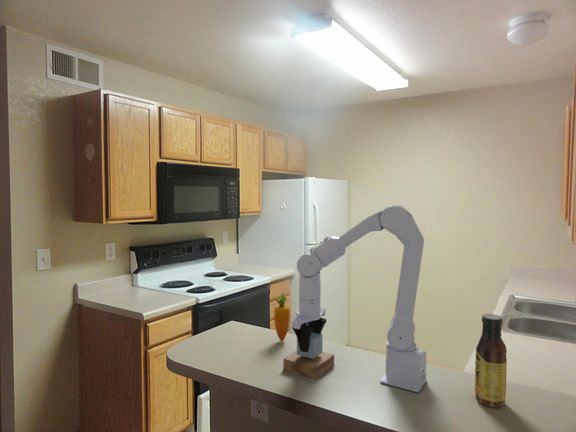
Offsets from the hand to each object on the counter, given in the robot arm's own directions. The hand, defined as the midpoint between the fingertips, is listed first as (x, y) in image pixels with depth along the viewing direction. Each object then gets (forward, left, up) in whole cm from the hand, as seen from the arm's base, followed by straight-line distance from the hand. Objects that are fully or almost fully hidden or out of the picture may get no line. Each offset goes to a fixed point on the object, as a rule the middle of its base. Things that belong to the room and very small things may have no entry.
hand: (309, 347), depth 108 cm
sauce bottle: (-43, -7, -6) cm, 44 cm away
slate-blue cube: (0, 0, -2) cm, 2 cm away
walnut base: (0, 0, -5) cm, 5 cm away
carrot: (+17, -12, -6) cm, 22 cm away
